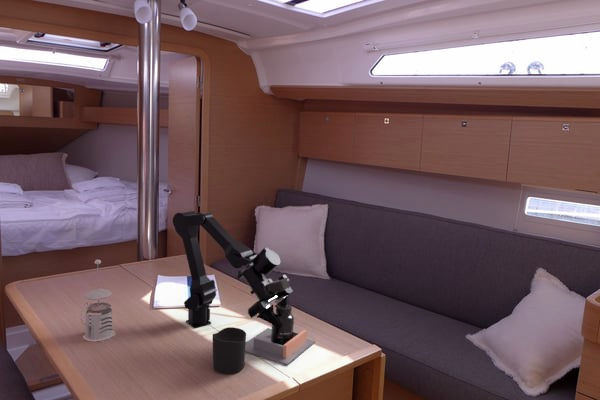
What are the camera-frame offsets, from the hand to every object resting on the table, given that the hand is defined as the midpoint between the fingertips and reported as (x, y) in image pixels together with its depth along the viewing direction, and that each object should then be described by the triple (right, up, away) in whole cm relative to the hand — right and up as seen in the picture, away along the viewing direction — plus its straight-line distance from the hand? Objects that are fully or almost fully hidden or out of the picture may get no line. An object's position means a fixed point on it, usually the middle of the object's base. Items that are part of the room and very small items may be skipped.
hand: (286, 323), depth 148 cm
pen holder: (-16, -10, -12) cm, 22 cm away
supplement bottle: (-2, -7, +2) cm, 7 cm away
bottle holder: (-3, -8, +3) cm, 9 cm away
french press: (-60, -5, +4) cm, 61 cm away
